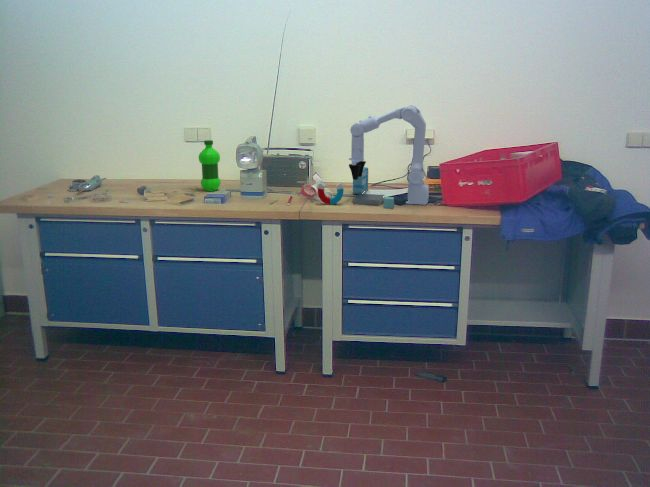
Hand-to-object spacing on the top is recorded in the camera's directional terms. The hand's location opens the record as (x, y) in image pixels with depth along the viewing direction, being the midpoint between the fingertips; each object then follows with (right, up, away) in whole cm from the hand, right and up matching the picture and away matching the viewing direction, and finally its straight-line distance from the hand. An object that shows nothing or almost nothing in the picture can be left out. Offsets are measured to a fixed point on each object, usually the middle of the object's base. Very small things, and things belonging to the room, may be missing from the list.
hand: (357, 178), depth 307 cm
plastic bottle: (-73, -4, +23) cm, 77 cm away
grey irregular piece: (-140, -4, +26) cm, 143 cm away
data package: (+2, -6, +17) cm, 18 cm away
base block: (+5, -12, -4) cm, 13 cm away
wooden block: (+13, -15, -14) cm, 24 cm away
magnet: (-13, -13, -7) cm, 20 cm away
